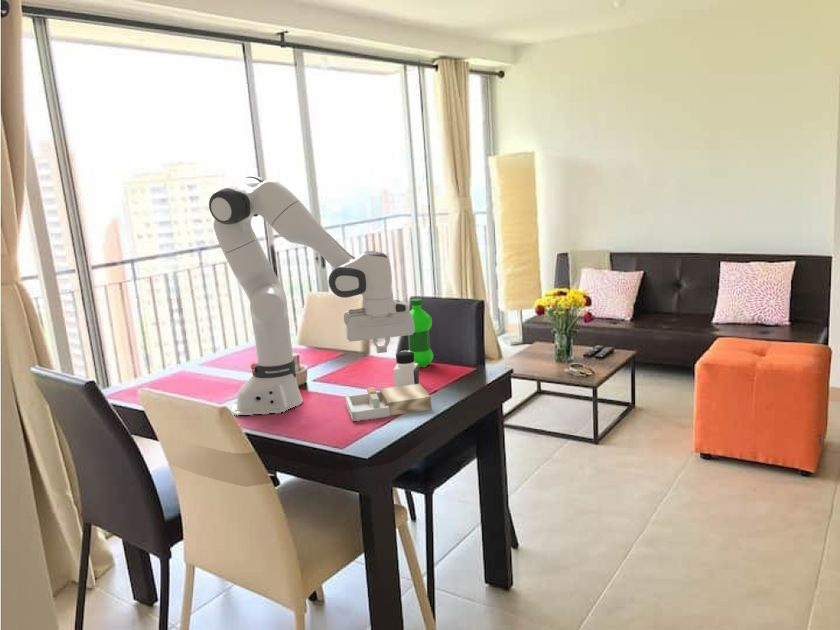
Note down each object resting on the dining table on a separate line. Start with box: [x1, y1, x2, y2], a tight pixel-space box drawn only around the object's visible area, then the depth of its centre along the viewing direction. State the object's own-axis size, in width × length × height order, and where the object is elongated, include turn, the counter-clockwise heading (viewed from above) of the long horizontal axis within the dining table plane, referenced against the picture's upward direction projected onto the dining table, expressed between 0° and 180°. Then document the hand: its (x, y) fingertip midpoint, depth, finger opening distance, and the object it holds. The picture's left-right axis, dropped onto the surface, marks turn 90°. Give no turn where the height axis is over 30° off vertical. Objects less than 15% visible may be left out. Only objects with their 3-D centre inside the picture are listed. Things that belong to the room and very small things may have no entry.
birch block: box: [379, 383, 432, 416], centre depth 205 cm, size 13×14×4 cm
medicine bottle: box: [392, 350, 420, 387], centre depth 223 cm, size 7×7×12 cm
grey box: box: [344, 390, 391, 422], centre depth 203 cm, size 11×16×3 cm
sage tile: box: [370, 394, 380, 408], centre depth 200 cm, size 5×5×2 cm
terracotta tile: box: [366, 386, 377, 407], centre depth 207 cm, size 5×5×2 cm
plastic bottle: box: [407, 298, 434, 368], centre depth 245 cm, size 10×10×25 cm
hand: (381, 352), depth 197 cm, fingers closed
